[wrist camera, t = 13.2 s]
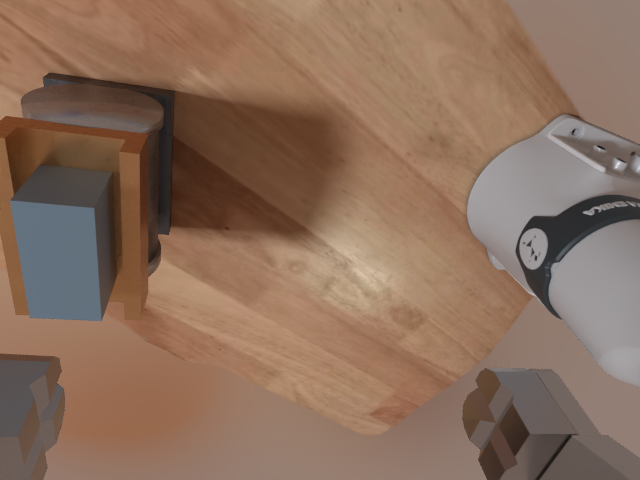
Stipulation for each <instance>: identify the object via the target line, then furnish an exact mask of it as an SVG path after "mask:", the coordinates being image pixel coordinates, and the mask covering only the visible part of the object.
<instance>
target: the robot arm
mask: <svg viewBox="0 0 640 480" xmlns="http://www.w3.org/2000/svg"><path fill="white" fill-rule="evenodd" d="M575 128H576V129H575ZM574 129H575V131H574V132H573V133H572V131H573V130H574ZM571 133H572V134H571ZM467 218H468V223H469V226H470V229H471V231H472V233H473V234H474V236H475V237H476V238H477V239H478V240H479V241H480V242H481V243H482V244H483V245H484V246H485V247H486V249H487V252H488V256H489V259H490V262H491V263H492V264H493V265H494V266H495V267H496V268H497V269H499V270H507V271H508V272H509V273H510V274H511V275H512V277H513V278H514V279H515V280H516V281H517V282H518V283H519V284H520V285H521V286H522V287H523V288H524V289H525V290H526V291H527V292H528V293H530V294H531V295H534V296H536V298H537V299H538V300H539V301H540V303H541V304H542V305H543V306H544V307H545V308H547V309H548V310H549V311H550V312H551V313H552V314H553V315H554V316H556V317H557V318H559V319H561V320H563V321H564V322H565V324H566V325H567V326H568V327H569V328H570V330H571V331H572V332H573V334H574V335H575V336H576V337H577V338H578V340H579V341H580V342H581V343H582V345H583V346H584V347H585V348H586V350H587V351H588V352H589V353H590V354H591V356H592V357H593V358H594V359H595V360H596V362H597V363H598V364H599V365H600V367H601V368H602V369H603V370H604V371H605V372H606V373H608V374H609V375H610V376H612V377H614V378H616V379H618V380H620V381H622V382H625V383H628V384H631V385H634V386H638V387H640V144H637V143H635V142H633V141H630V140H628V139H626V138H623V137H621V136H619V135H616V134H614V133H612V132H609V131H607V130H605V129H602V128H600V127H598V126H595V125H593V124H591V123H589V122H586V121H584V120H582V119H579V118H577V117H575V116H572V115H569V114H564V115H561V116H559V117H558V118H556V119H555V120H553V121H552V122H551V123H550V124H549V125H547V126H546V127H545V128H544V129H543V130H542V131H541V132H539V133H538V134H536V135H535V136H533V137H531V138H528V139H526V140H524V141H521V142H519V143H517V144H515V145H513V146H511V147H510V148H508V149H507V150H505V151H504V152H502V153H501V154H500V155H498V156H497V157H496V158H495V159H494V160H493V161H492V162H491V163H490V164H489V165H488V166H487V167H486V168H485V169H484V171H483V172H482V173H481V175H480V176H479V177H478V179H477V181H476V182H475V184H474V186H473V189H472V191H471V194H470V197H469V201H468V207H467ZM61 372H62V370H61V365H60V359H59V358H58V357H55V356H36V355H17V354H0V480H43V479H44V476H45V473H46V470H47V463H46V456H45V452H46V451H48V450H49V449H50V448H51V447H52V446H54V445H55V444H56V442H57V439H58V436H59V433H60V430H61V426H62V421H63V416H64V411H65V394H64V388H63V387H61V386H60V385H59V384H58V383H57V382H58V379H59V377H60V374H61ZM476 383H477V385H478V388H477V389H475V390H474V391H472V392H471V393H470V394H468V396H467V398H466V400H465V402H464V405H463V417H462V419H463V424H464V428H465V431H466V433H467V435H468V438H469V440H470V441H471V442H472V443H473V444H475V445H476V446H477V447H478V448H479V449H480V454H479V459H478V461H479V463H480V465H481V467H482V469H483V471H484V474H485V476H486V478H487V480H640V458H639V457H638V456H636V455H635V454H633V453H632V452H631V451H629V450H628V449H626V448H625V447H624V446H622V445H621V444H619V443H618V442H617V441H615V440H614V439H612V438H611V437H609V436H608V435H601V434H600V433H599V431H598V430H597V428H596V427H595V426H594V424H593V423H592V421H591V420H590V419H589V417H588V416H587V414H586V413H585V412H584V410H583V409H582V407H581V406H580V405H579V403H578V402H577V400H576V399H575V398H574V396H573V395H572V394H571V392H570V391H569V389H568V388H567V386H566V385H565V384H564V383H563V381H562V379H561V378H560V377H559V376H558V374H557V373H555V372H554V371H553V370H551V369H523V368H522V369H521V368H485V369H484V370H482V371H481V372H480V373H479V375H478V377H477V378H476Z"/></svg>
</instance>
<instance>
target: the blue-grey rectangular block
mask: <svg viewBox="0 0 640 480" xmlns="http://www.w3.org/2000/svg"><path fill="white" fill-rule="evenodd" d="M10 204H11V210H12V216H13V222H14V228H15V234H16V240H17V246H18V252H19V258H20V263H21V269H22V275H23V281H24V287H25V293H26V299H27V305H28V311H29V316H30V318H43V319H66V320H90V321H102V318H103V316H104V313H105V310H106V307H107V304H108V301H109V298H110V295H111V293H112V290H113V287H114V284H115V281H116V278H117V266H116V242H115V217H114V193H113V172H108V171H99V170H89V169H80V168H71V167H61V166H52V165H43V164H40V165H39V166H38V167H37V168H36V169H35V171H34V172H33V173H32V174H31V176H30V177H29V178H28V179H27V180H26V182H25V183H24V184H23V185H22V186H21V188H20V189H19V190H18V191H17V192H16V194H15V195H14V196H13V197H12V198H11V200H10Z"/></svg>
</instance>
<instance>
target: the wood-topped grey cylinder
mask: <svg viewBox="0 0 640 480" xmlns="http://www.w3.org/2000/svg"><path fill="white" fill-rule="evenodd" d="M43 83H44V87H42V88H38V89H35V90H32V91H30V92H28V93H27V94H25V95H24V96H23V97H22V99H21V108H22V115H23V118H18V117H10V116H5V117H4V118H3V119H2V120H1V121H0V234H1V239H2V244H3V249H4V255H5V260H6V265H7V271H8V276H9V281H10V286H11V292H12V297H13V302H14V308H15V313H16V315H29V311H28V305H27V299H26V293H25V287H24V281H23V275H22V269H21V263H20V258H19V252H18V246H17V240H16V234H15V228H14V222H13V216H12V210H11V204H10V200H11V198H12V197H13V196H14V195H15V194H16V192H17V191H18V190H19V189H20V188H21V186H22V185H23V184H24V183H25V182H26V180H27V179H28V178H29V177H30V176H31V174H32V173H33V172H34V171H35V169H36V168H37V167H38V166H39V165H40V164H43V165H52V166H61V167H71V168H80V169H89V170H99V171H108V172H113V193H114V217H115V242H116V266H117V278H116V281H115V284H114V287H113V290H112V293H111V295H110V298H109V301H108V302H124V312H125V320H141V318H142V314H143V310H144V306H145V302H146V298H147V294H148V277H149V276H150V275H151V274H152V273H154V271H155V270H156V269H157V268H158V266H159V264H160V261H161V244H160V241H159V239H158V234H165V235H169V232H170V227H171V196H172V162H173V129H174V95H175V91H171V90H164V89H157V88H151V87H144V86H137V85H130V84H123V83H116V82H109V81H102V80H95V79H89V78H82V77H75V76H68V75H61V74H54V73H48V74H47V75H46V76H44V77H43Z"/></svg>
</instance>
